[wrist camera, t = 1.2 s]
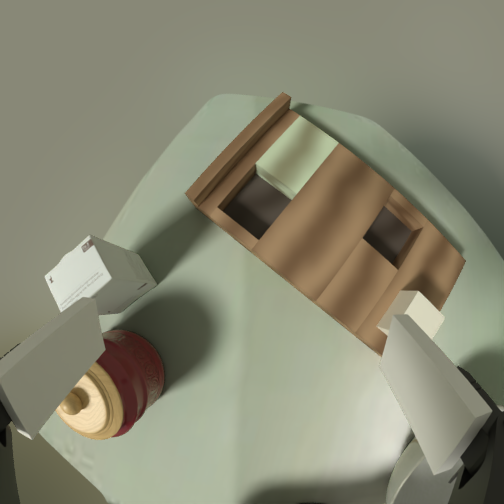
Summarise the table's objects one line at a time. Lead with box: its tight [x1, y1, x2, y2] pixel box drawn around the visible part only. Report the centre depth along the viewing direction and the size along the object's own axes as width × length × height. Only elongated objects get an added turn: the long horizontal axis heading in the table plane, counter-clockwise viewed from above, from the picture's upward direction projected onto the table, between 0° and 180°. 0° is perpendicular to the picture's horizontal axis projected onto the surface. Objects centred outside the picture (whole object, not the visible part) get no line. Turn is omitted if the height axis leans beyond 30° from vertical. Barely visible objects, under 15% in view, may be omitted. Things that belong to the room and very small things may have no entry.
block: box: [377, 291, 445, 339], centre depth 32 cm, size 6×6×5 cm
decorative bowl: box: [386, 404, 504, 504], centre depth 30 cm, size 27×27×12 cm
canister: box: [55, 330, 165, 440], centre depth 30 cm, size 13×13×18 cm
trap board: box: [185, 92, 466, 357], centre depth 37 cm, size 38×20×7 cm, turn 51°
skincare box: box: [45, 235, 157, 315], centre depth 33 cm, size 8×6×15 cm
